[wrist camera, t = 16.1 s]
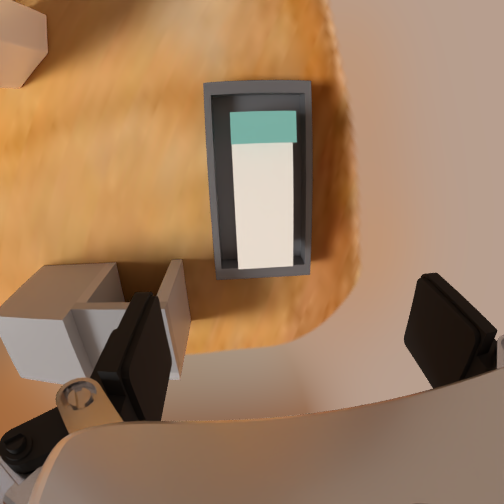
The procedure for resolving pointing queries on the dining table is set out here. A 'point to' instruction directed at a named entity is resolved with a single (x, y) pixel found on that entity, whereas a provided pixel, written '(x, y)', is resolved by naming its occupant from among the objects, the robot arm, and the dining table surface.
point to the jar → (20, 42)
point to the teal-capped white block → (263, 186)
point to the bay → (82, 319)
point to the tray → (221, 168)
